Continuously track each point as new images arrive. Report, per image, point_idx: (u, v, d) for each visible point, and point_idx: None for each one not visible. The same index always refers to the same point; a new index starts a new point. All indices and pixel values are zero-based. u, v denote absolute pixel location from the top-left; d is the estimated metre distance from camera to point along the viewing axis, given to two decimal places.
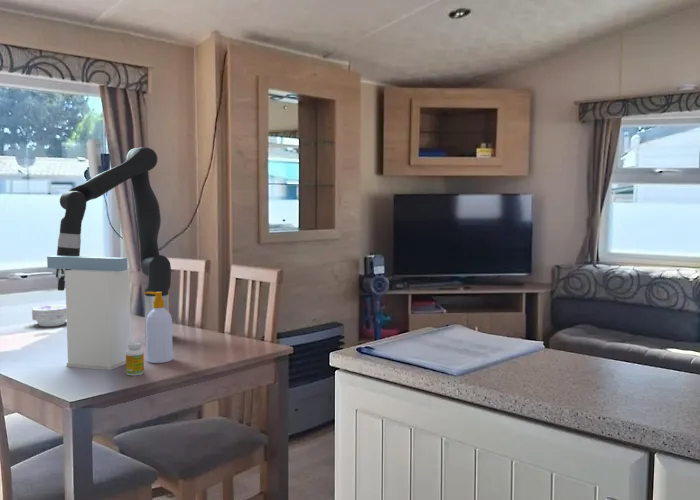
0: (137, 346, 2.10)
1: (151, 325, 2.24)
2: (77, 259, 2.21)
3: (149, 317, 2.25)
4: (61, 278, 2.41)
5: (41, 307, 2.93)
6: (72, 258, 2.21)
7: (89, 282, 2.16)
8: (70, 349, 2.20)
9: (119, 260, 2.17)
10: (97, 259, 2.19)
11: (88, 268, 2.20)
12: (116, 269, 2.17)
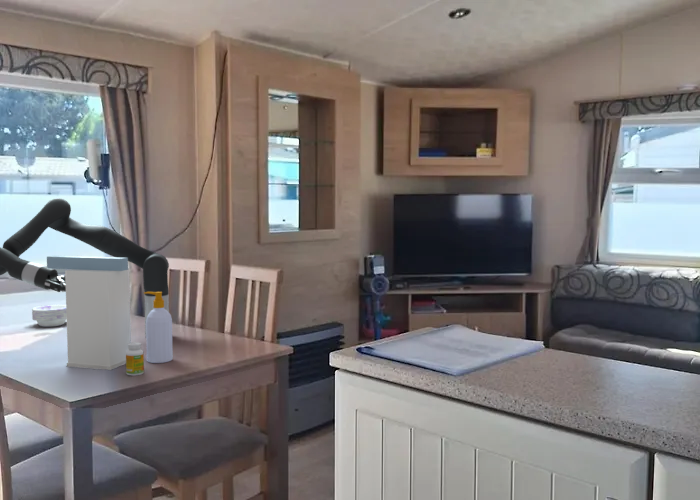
0: (137, 346, 2.10)
1: (151, 325, 2.24)
2: (77, 259, 2.21)
3: (149, 317, 2.25)
4: None
5: (41, 307, 2.93)
6: (72, 258, 2.21)
7: (89, 282, 2.16)
8: (70, 349, 2.20)
9: (120, 260, 2.17)
10: (98, 259, 2.19)
11: (88, 268, 2.20)
12: (117, 269, 2.18)
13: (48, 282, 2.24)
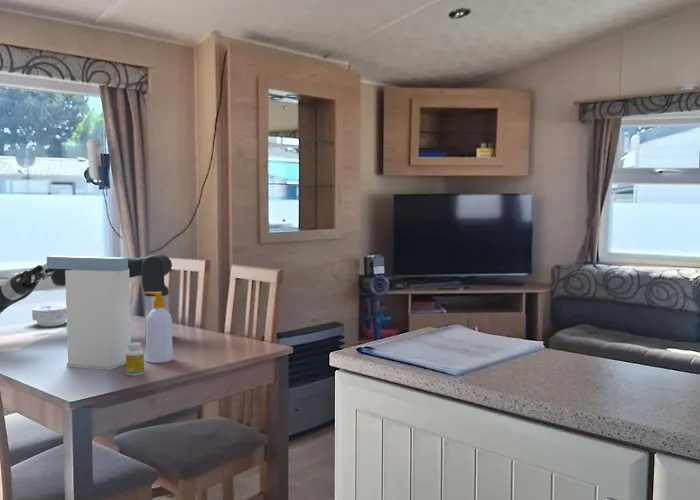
0: (137, 346, 2.10)
1: (151, 325, 2.24)
2: (77, 259, 2.21)
3: (149, 317, 2.25)
4: (49, 270, 2.46)
5: (41, 307, 2.93)
6: (72, 258, 2.21)
7: (89, 282, 2.16)
8: (70, 349, 2.20)
9: (120, 260, 2.17)
10: (98, 259, 2.19)
11: (88, 268, 2.20)
12: (117, 269, 2.18)
13: (17, 277, 2.36)
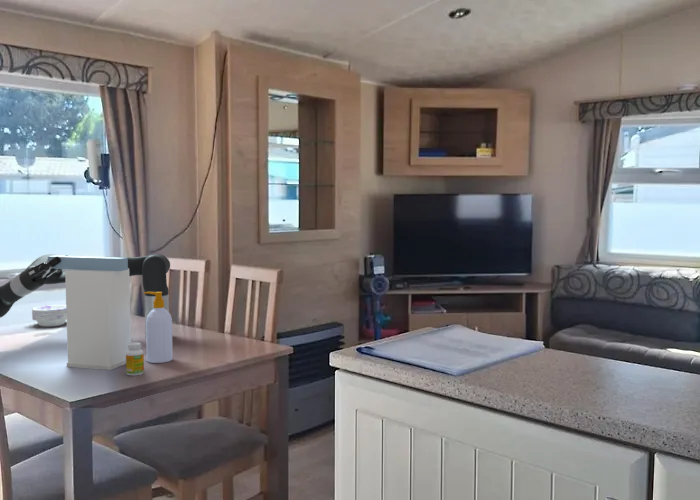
0: (137, 346, 2.10)
1: (151, 325, 2.24)
2: (78, 259, 2.21)
3: (149, 317, 2.25)
4: None
5: (41, 307, 2.93)
6: (72, 258, 2.21)
7: (89, 282, 2.16)
8: (70, 349, 2.20)
9: (119, 260, 2.17)
10: (97, 259, 2.19)
11: (88, 268, 2.20)
12: (116, 269, 2.18)
13: (31, 270, 2.21)
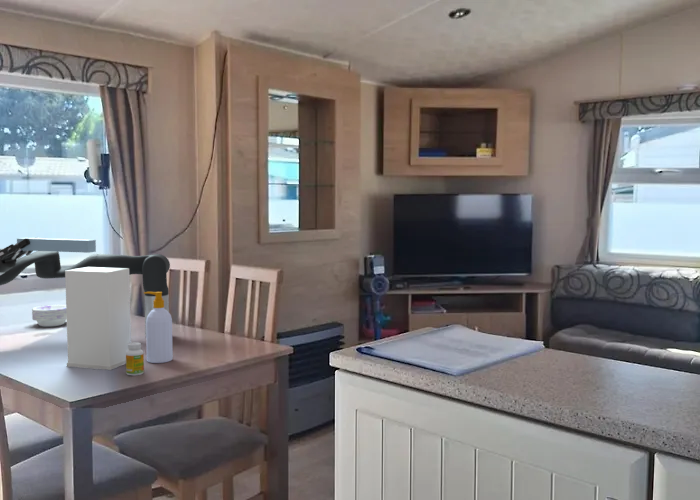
0: (137, 346, 2.10)
1: (151, 325, 2.24)
2: (46, 241, 2.23)
3: (149, 317, 2.25)
4: None
5: (41, 307, 2.93)
6: (41, 240, 2.24)
7: (89, 282, 2.16)
8: (70, 349, 2.20)
9: (87, 242, 2.19)
10: (65, 241, 2.21)
11: (57, 250, 2.23)
12: (84, 251, 2.20)
13: (0, 251, 2.23)
